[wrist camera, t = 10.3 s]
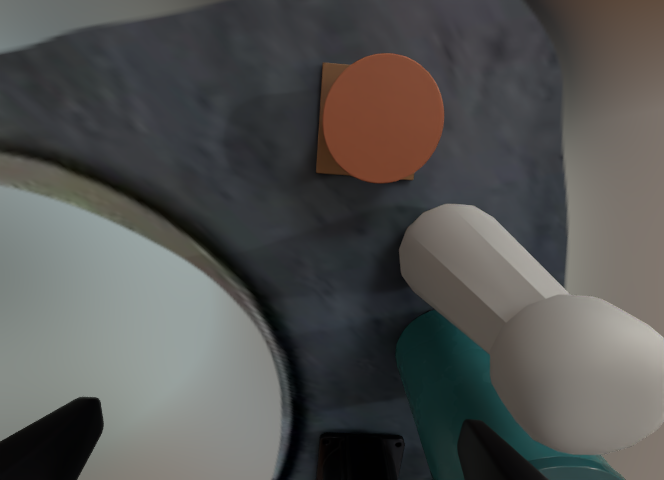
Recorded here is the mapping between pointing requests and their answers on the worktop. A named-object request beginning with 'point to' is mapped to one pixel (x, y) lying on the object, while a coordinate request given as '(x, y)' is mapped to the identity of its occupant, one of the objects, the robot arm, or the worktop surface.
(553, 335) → the salt shaker
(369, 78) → the brown lid
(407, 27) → the worktop surface
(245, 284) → the worktop surface
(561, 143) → the worktop surface
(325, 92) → the coaster
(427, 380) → the tin
